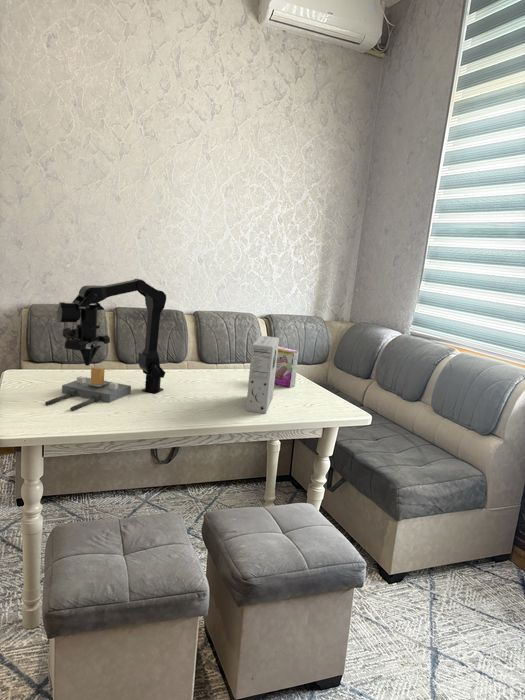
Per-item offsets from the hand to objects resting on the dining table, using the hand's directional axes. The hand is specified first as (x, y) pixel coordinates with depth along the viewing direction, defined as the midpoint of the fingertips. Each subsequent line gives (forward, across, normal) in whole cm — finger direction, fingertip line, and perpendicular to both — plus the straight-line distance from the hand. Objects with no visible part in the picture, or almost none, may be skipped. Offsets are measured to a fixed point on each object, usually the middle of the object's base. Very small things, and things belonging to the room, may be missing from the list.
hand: (87, 365), depth 181 cm
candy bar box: (+12, -64, +57) cm, 86 cm away
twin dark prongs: (+12, +8, 0) cm, 14 cm away
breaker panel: (+12, -6, 0) cm, 14 cm away
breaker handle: (+9, -6, 0) cm, 11 cm away
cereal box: (+12, -30, +57) cm, 65 cm away
